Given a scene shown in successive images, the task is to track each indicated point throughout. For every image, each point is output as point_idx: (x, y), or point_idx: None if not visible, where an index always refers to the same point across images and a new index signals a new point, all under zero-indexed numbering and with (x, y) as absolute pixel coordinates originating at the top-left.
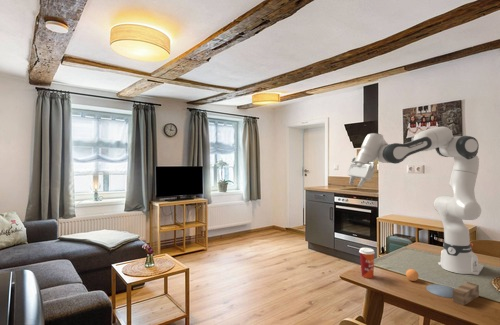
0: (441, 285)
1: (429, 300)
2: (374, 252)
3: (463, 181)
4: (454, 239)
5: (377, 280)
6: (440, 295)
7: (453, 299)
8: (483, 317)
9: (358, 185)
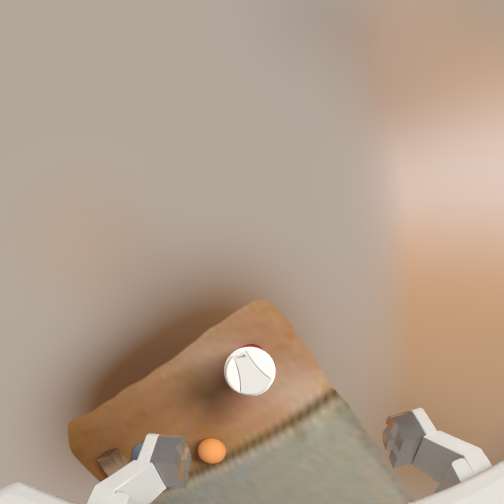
0: None
1: (122, 414)
2: (236, 391)
3: None
4: None
5: (222, 370)
6: (138, 446)
7: (115, 449)
8: (75, 444)
9: (154, 435)
